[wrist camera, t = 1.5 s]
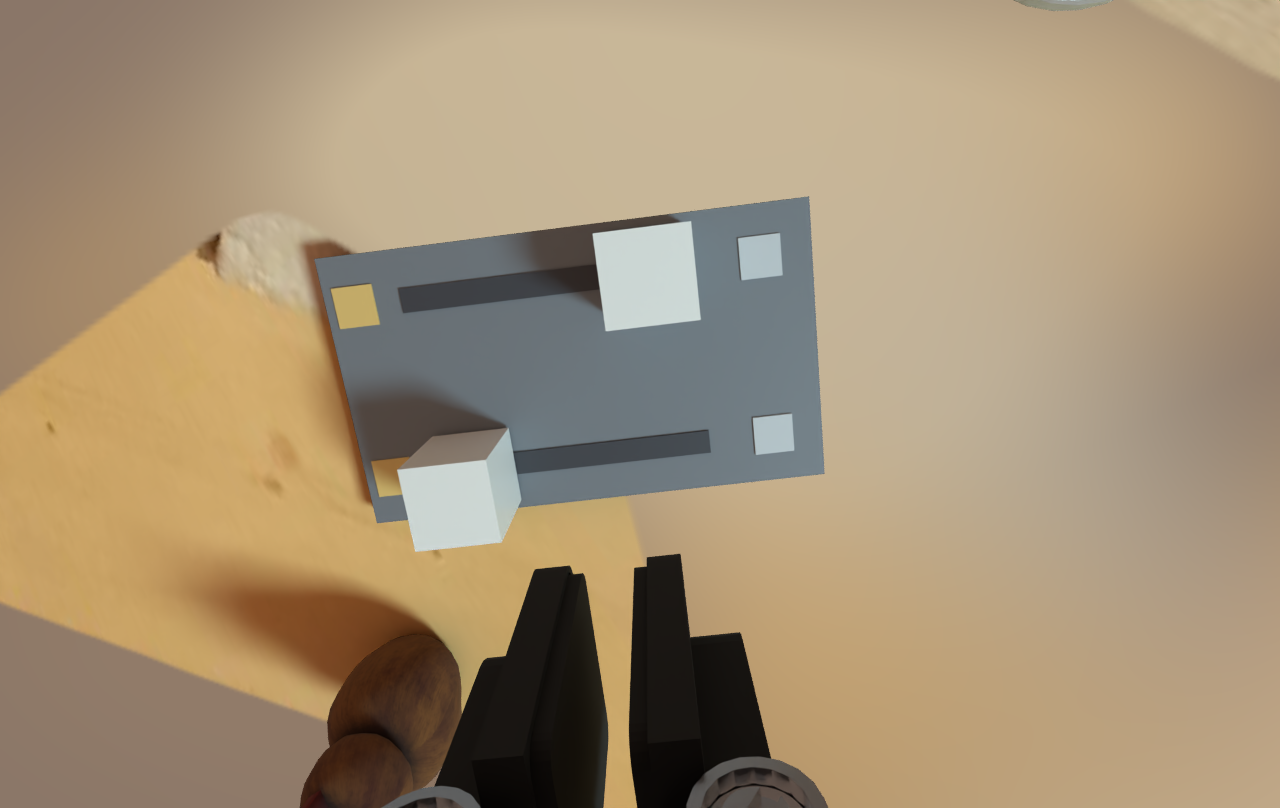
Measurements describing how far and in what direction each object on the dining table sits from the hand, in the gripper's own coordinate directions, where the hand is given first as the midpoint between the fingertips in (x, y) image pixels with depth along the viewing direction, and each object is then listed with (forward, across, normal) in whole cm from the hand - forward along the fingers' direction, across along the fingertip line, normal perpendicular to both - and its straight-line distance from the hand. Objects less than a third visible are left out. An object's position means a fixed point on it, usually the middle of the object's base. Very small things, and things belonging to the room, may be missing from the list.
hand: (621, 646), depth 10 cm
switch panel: (+25, +3, 0) cm, 25 cm away
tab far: (+23, +9, +5) cm, 25 cm away
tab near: (+23, -1, -5) cm, 24 cm away
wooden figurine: (+25, +15, +17) cm, 34 cm away
